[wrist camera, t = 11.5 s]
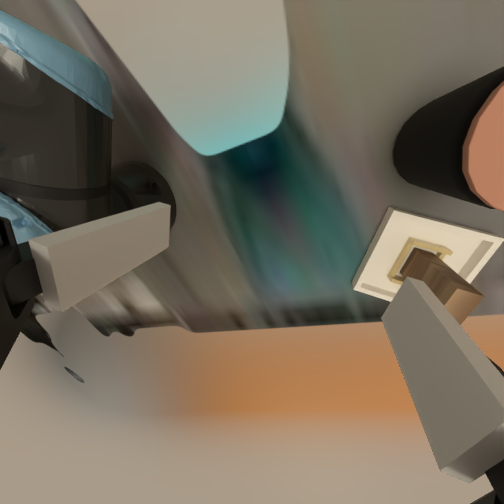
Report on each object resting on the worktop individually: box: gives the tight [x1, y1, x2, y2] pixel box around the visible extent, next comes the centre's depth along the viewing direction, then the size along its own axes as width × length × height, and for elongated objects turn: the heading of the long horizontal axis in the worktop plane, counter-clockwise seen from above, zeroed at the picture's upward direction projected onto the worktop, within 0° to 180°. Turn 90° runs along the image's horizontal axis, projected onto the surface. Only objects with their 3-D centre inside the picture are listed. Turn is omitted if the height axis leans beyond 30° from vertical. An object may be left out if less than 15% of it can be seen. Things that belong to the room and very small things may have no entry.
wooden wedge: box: [400, 247, 484, 325], centre depth 30 cm, size 3×5×12 cm, turn 167°
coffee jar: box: [394, 67, 504, 212], centre depth 21 cm, size 11×11×18 cm
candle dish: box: [352, 207, 504, 301], centre depth 34 cm, size 14×14×3 cm
